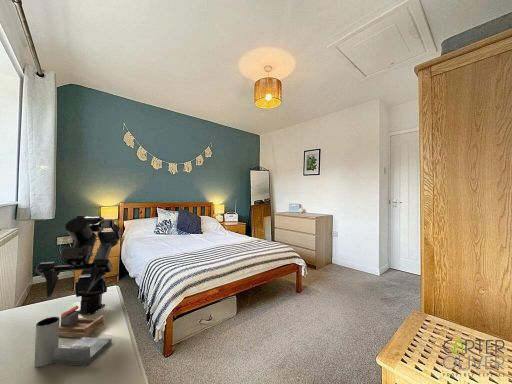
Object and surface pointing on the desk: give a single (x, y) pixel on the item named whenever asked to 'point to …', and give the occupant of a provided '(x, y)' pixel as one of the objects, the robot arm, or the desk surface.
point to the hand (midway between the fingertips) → (67, 295)
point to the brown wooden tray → (82, 328)
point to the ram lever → (70, 317)
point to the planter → (46, 341)
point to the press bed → (80, 351)
